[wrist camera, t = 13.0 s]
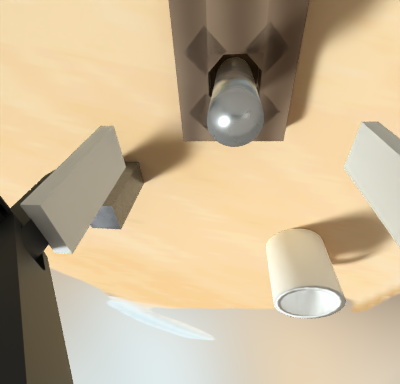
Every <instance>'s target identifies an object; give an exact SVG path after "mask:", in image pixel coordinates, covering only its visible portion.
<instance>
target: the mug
mask: <svg viewBox="0 0 400 384" xmlns="http://www.w3.org/2000/svg"><path fill="white" fill-rule="evenodd" d="M266 252H267V259H268V266H269V274H270V281H271V288H272V296H273V303H274V306H275V308H276V309H277V310H278V311H279V312H281V313H282V314H285V315H288V316H290V317H296V318H307V319H309V318H310V319H312V318H320V317H325V316H329V315H332V314H334V313H336V312H338V311H340V310H341V309H342V308H343V307H344V305H345V303H346V300H345V297H344V294H343V292H342V289H341V287H340V284H339V281H338V279H337V276H336V274H335V271H334V268H333V266H332V263H331V261H330V258H329V255H328V253H327V250H326V248H325V245H324V242H323V240H322V238H321V237H320V236H319V235H318V234H317V233H315V232H313V231H311V230H307V229H301V228H298V229H288V230H284V231H281V232H279V233H277V234H275V235H273V236H272V237H271V238H270V239H269V240H268V242H267V244H266Z"/></svg>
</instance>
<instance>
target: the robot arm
mask: <svg viewBox="0 0 400 384" xmlns="http://www.w3.org/2000/svg"><path fill="white" fill-rule="evenodd" d="M125 168H126V165H125V162H124V159H123V155H122V152H121V149H120V146H119V142H118V139H117V136H116V132H115V129H114V126H100V127H99V128H98V129H97V130H96V131H95V132H94V133H93V134H92V135H91V136H90V137H89V138H88V139H87V140H86V141H85V142H84V143H83V144H82V145H81V146H80V147H79V148H77V149H76V150H75V151H74V152H73V153H72V154H71V155H70V156H69V157H68V158H67V159H66V160H65V161H64V162H63V163H62V164H61V165H60V166H59V167H58V168H57V169H56V170H54V171H52V172H51V173H49V174H47V175H45V176H44V177H43V178H42V179H41V180H40V181H39V182H38V183H37V184H36V185H35V186H34V187H32V188H31V190H29V191H28V192H27V193H26V194H25V195H24V196H23V197H22V198H21V199H20V200H19V201H18V202H17V203H16V204H14V205H13V206H12V207H11V208H9V206H8V205H7V204H6V203H5V201H4V200H3V199H2V197H1V196H0V384H73V380H72V375H71V370H70V365H69V360H68V355H67V351H66V346H65V341H64V336H63V331H62V326H61V321H60V317H59V312H58V307H57V302H56V297H55V292H54V288H53V282H52V277H51V273H50V268H49V263H48V258H47V256H46V254H45V253H44V250H45V248H46V247H47V246H48V244H49V245H50V247H51V248H52V249H53V251H54V252H55V253H64V254H72V253H73V252H74V250H75V249H76V247H77V245H78V244H79V242H80V241H81V239H82V237H83V236H84V234H85V232H86V231H87V229H88V228H89V226H90V224H91V223H92V221H93V220H94V218H95V216H96V215H97V213H98V211H99V210H100V208H101V207H102V205H103V203H104V202H105V200H106V199H107V197H108V195H109V194H110V192H111V190H112V189H113V187H114V186H115V184H116V182H117V181H118V179H119V178H120V176H121V174H122V173H123V171H124V169H125ZM344 169H345V171H346V172H347V174H348V175H349V176H350V178H351V179H352V181H353V182H354V184H355V185H356V186H357V188H358V189H359V191H360V192H361V193H362V195H363V196H364V198H365V199H366V201H367V202H368V203H369V205H370V206H371V208H372V209H373V211H374V212H375V213H376V215H377V216H378V218H379V219H380V221H381V222H382V223H383V225H384V226H385V228H386V229H387V230H388V232H389V233H390V235H391V236H392V238H393V239H394V240H395V242H396V243H397V245H398V246H399V248H400V139H399V138H398V137H397V136H396V135H394V134H393V133H392V132H391V131H389V130H388V129H387V128H386V127H384V126H383V125H382V124H380V123H379V122H362V123H361V126H360V128H359V131H358V133H357V136H356V138H355V141H354V143H353V146H352V148H351V151H350V153H349V156H348V158H347V161H346V163H345V166H344Z"/></svg>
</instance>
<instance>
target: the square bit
mask: <svg viewBox="0 0 400 384" xmlns="http://www.w3.org/2000/svg"><path fill="white" fill-rule="evenodd" d="M125 165H126V168H125V169H124V171H123V173H122V174H121V176H120V178H119V179H118V181H117V182H116V184H115V186H114V187H113V189H112V190H111V192H110V194H109V195H108V197H107V199H106V200H105V202H104V203H103V205H102V207H101V208H100V210H99V211H98V213H97V215H96V216H95V218H94V220H93V221H92V223H91V224H90V225H91V227H92V228H107V229H121V228H122V226H123V224H124V222H125V220H126V218H127V216H128V214H129V212H130V210H131V208H132V206H133V204H134V202H135V200H136V198H137V196H138V194H139V192H140V190H141V188H142V186H143V184H144V182H143V178H142V174H141V170H140V166H139V162H125Z"/></svg>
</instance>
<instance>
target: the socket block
mask: <svg viewBox="0 0 400 384" xmlns="http://www.w3.org/2000/svg"><path fill="white" fill-rule="evenodd" d="M308 5H309V0H169V8H170V17H171V27H172V36H173V45H174V55H175V64H176V74H177V83H178V92H179V102H180V111H181V121H182V130H183V139H184V141H216V140H215V139H214V138H213V137H212V135H211V134H210V132H209V130H208V126H207V115H208V110H209V106H210V101H211V97H212V92H213V90H212V89H211V77H210V70H211V69H212V68H213V66H214V65H215V64H216V63H217V62H218V61H219V59H220V58H221V57H222V56H223V55H224V54H245V53H247V54H248V55H249V56H250V57H251V59H252V60H253V61H254V62H255V63H256V64H257V66H258V67H259V74H258V84H257V87H256V88H257V92H258V95H259V98H260V102H261V105H262V109H263V112H264V123H263V127H262V129H261V131H260V133H259V134H258V136H257V137H256V138H255V139H254V140H252V141H283V140H284V135H285V129H286V124H287V118H288V113H289V108H290V102H291V97H292V91H293V86H294V80H295V75H296V70H297V64H298V59H299V53H300V48H301V43H302V37H303V32H304V26H305V21H306V16H307V10H308Z"/></svg>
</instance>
